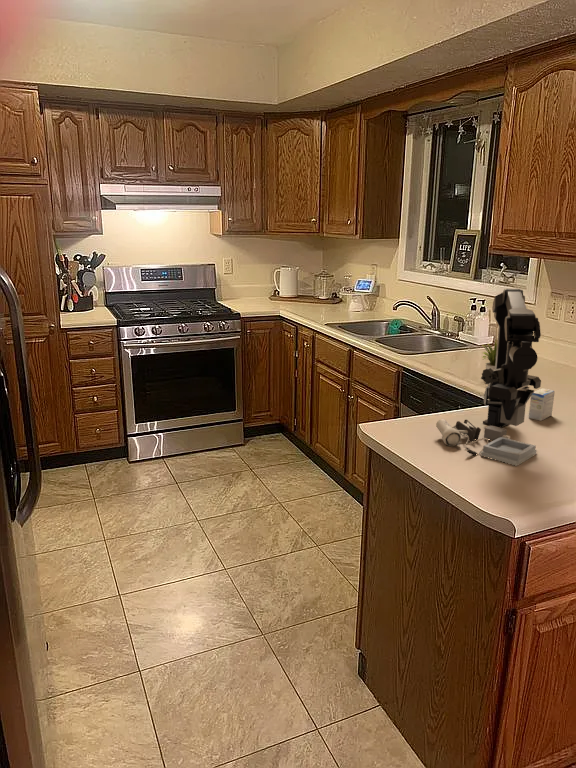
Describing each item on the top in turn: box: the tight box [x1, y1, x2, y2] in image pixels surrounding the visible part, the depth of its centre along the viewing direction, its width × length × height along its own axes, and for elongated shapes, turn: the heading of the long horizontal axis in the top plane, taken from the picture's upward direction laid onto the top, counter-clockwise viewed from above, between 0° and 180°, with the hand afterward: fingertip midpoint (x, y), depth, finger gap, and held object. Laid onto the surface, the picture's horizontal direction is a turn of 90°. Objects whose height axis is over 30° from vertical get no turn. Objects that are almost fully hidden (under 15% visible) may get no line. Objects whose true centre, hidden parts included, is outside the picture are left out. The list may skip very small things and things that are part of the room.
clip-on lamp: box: [435, 418, 489, 456], centre depth 171 cm, size 12×6×18 cm
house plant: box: [481, 339, 497, 370], centre depth 240 cm, size 14×14×16 cm
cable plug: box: [483, 425, 511, 441], centre depth 175 cm, size 4×7×4 cm, turn 44°
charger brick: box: [500, 403, 527, 427], centre depth 161 cm, size 4×4×6 cm
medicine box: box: [528, 387, 555, 422], centre depth 195 cm, size 8×4×9 cm, turn 134°
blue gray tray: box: [480, 437, 538, 467], centre depth 164 cm, size 12×10×3 cm
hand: (512, 417), depth 161 cm, fingers closed on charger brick, 4 cm apart
